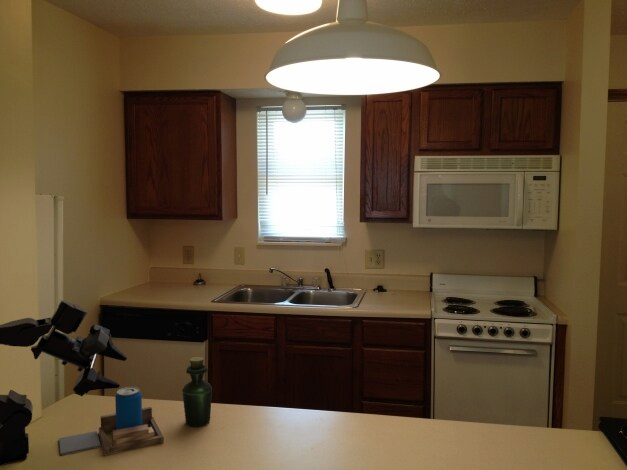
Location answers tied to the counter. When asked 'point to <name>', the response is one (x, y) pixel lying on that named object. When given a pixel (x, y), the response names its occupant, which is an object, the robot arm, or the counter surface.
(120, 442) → the offcut stack
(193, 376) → the potion bottle
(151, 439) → the rack
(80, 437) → the rubber mat
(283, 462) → the counter surface
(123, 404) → the beverage can
